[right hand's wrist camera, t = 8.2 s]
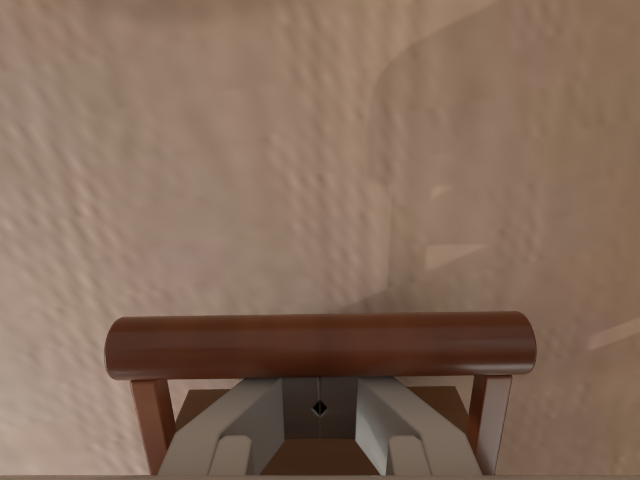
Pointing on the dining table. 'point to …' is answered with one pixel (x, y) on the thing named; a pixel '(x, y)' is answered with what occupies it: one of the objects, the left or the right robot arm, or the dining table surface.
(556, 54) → the dining table surface
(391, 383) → the right robot arm
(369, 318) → the drawer
